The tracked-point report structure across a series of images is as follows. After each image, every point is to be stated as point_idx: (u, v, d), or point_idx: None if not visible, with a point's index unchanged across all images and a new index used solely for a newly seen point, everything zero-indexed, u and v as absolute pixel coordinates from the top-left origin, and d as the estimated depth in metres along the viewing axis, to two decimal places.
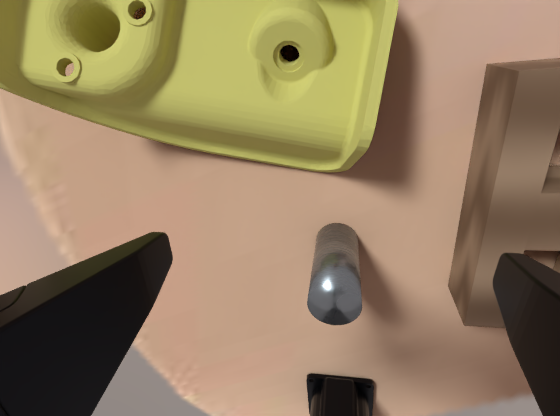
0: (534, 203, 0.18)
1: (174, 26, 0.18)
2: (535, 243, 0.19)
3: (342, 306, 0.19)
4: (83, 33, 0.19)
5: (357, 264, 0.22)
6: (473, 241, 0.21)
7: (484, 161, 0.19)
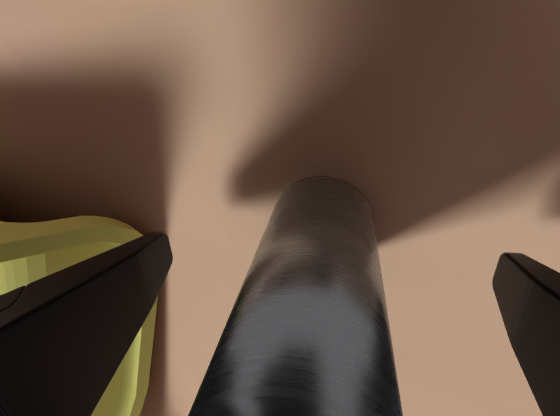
0: None
1: None
2: None
3: None
4: None
5: (277, 253, 0.07)
6: None
7: None
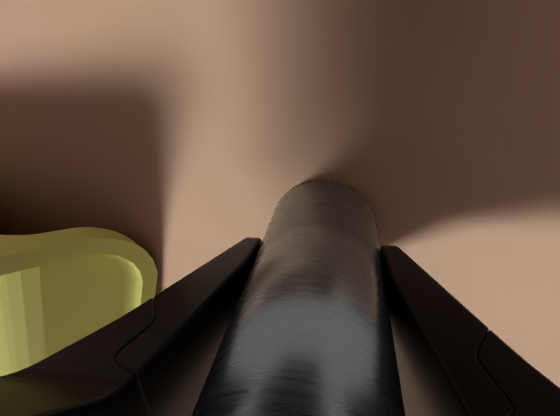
0: None
1: None
2: None
3: None
4: None
5: (276, 262, 0.06)
6: None
7: None
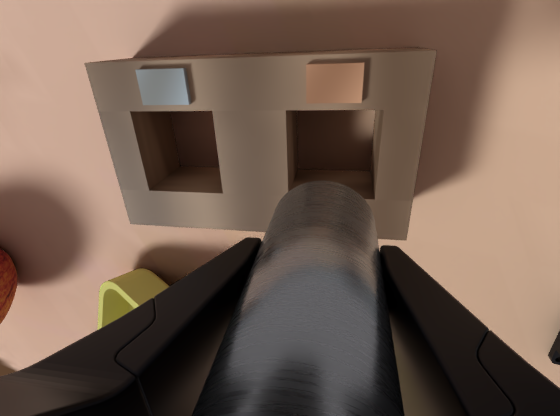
0: (233, 196, 0.18)
1: None
2: (279, 187, 0.17)
3: None
4: None
5: (276, 263, 0.07)
6: None
7: None
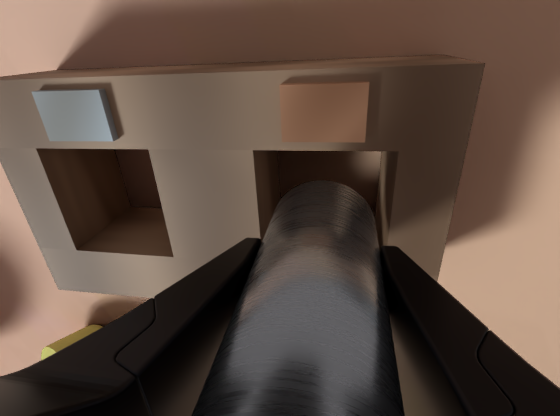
0: (188, 261, 0.13)
1: None
2: None
3: None
4: None
5: (276, 263, 0.06)
6: None
7: None
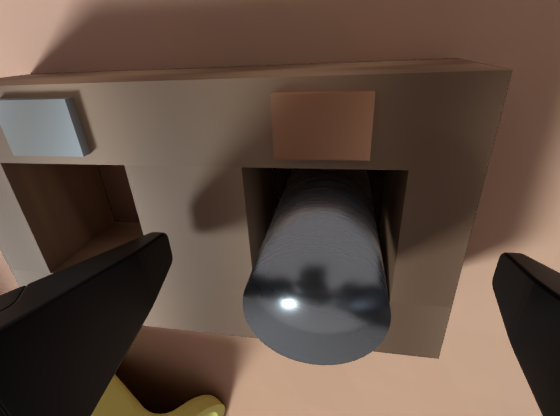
0: (172, 287, 0.12)
1: None
2: (239, 278, 0.11)
3: (315, 297, 0.07)
4: None
5: (298, 193, 0.09)
6: None
7: None
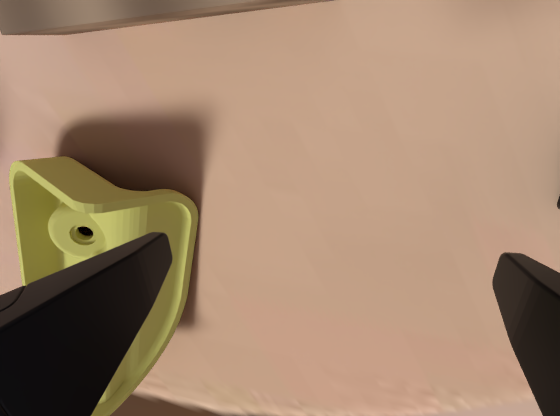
0: None
1: None
2: None
3: None
4: None
5: None
6: (209, 10, 0.15)
7: (117, 23, 0.16)
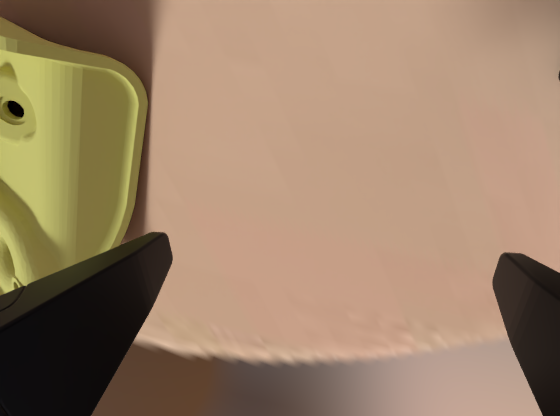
0: None
1: (13, 199, 0.23)
2: None
3: None
4: None
5: None
6: None
7: None
